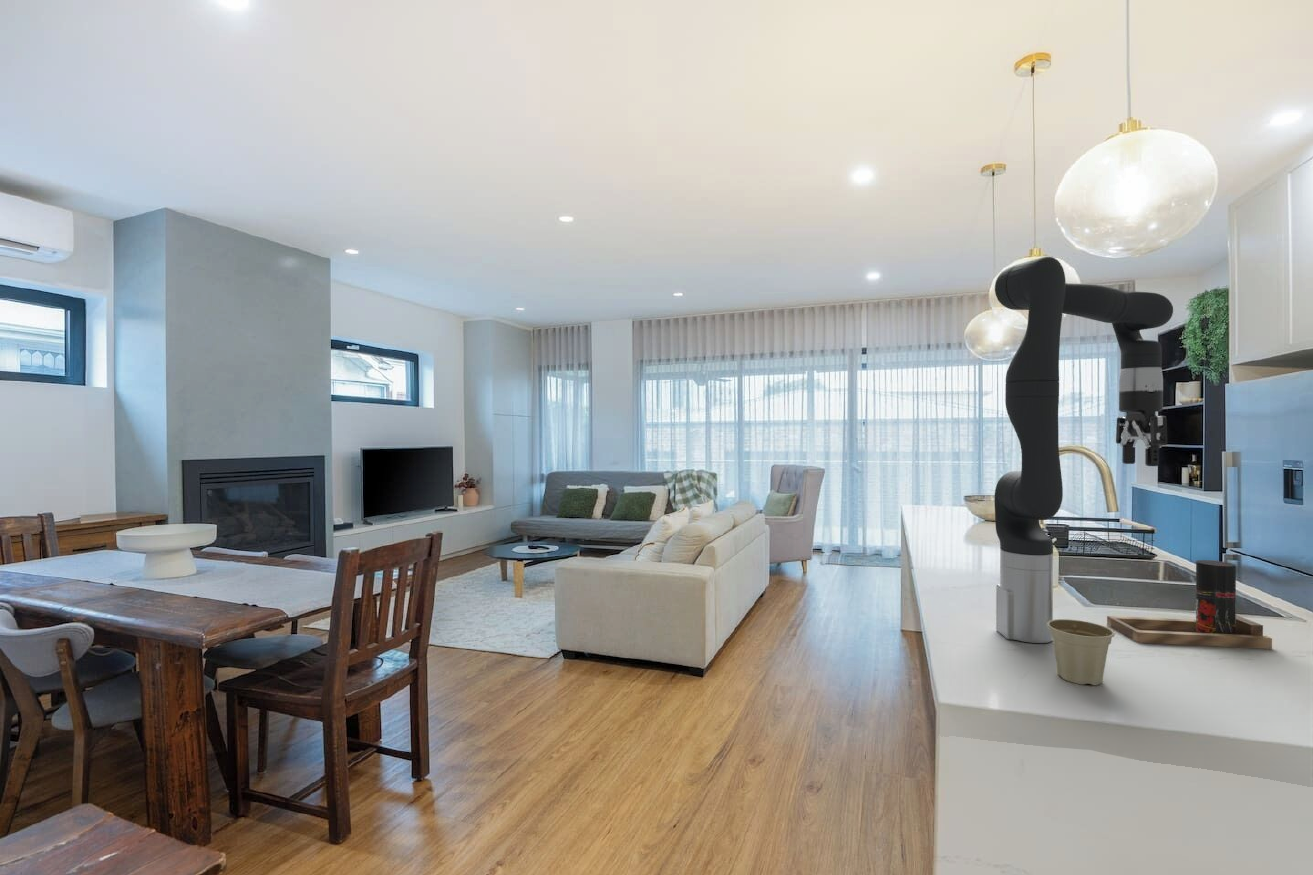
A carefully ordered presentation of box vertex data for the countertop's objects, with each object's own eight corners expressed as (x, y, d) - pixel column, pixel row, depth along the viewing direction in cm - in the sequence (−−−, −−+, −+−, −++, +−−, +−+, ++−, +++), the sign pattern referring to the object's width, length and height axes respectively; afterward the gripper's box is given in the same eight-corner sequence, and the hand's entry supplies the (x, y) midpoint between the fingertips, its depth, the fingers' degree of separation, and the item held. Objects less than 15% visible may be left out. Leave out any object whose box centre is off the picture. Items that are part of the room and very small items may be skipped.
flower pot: (1117, 695, 99) (1117, 640, 99) (1046, 682, 104) (1046, 630, 104) (1112, 675, 107) (1112, 624, 107) (1046, 664, 112) (1047, 616, 112)
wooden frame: (1137, 642, 124) (1137, 622, 124) (1107, 625, 134) (1107, 606, 134) (1272, 648, 120) (1272, 627, 120) (1229, 630, 131) (1229, 611, 131)
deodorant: (1243, 643, 123) (1243, 566, 122) (1207, 641, 124) (1208, 565, 124) (1222, 634, 128) (1222, 560, 128) (1189, 632, 130) (1189, 559, 129)
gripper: (1103, 392, 144) (1103, 463, 144) (1140, 387, 130) (1140, 466, 130) (1140, 391, 142) (1140, 463, 143) (1181, 387, 128) (1181, 467, 128)
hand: (1140, 464), depth 136 cm, fingers open, 8 cm apart
